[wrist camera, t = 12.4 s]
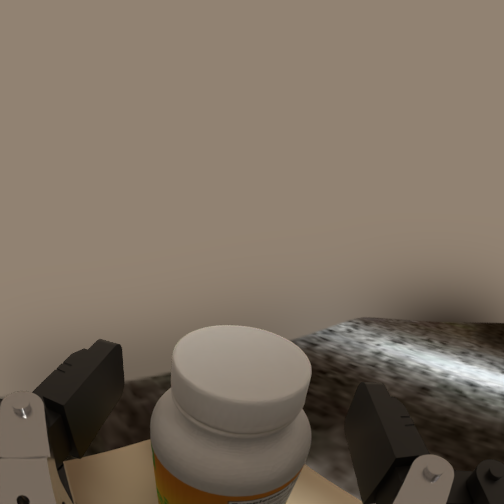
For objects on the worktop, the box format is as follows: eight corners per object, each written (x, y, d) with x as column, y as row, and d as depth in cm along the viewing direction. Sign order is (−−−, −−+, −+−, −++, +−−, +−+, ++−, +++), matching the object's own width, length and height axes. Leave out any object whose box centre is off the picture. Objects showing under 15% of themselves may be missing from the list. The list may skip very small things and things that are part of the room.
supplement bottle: (146, 484, 12) (131, 318, 9) (241, 463, 14) (272, 309, 12) (185, 570, 7) (181, 445, 5) (294, 533, 10) (374, 384, 8)
